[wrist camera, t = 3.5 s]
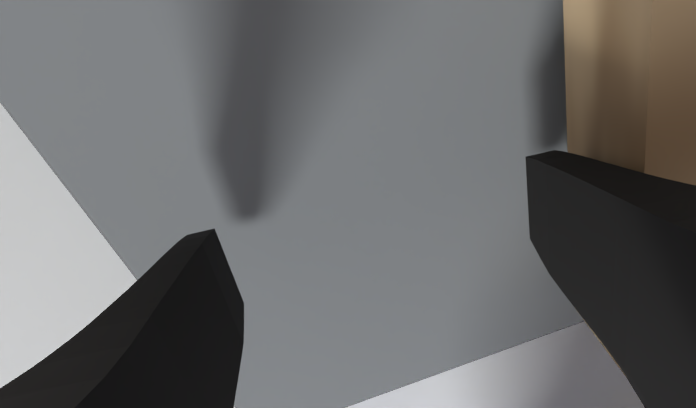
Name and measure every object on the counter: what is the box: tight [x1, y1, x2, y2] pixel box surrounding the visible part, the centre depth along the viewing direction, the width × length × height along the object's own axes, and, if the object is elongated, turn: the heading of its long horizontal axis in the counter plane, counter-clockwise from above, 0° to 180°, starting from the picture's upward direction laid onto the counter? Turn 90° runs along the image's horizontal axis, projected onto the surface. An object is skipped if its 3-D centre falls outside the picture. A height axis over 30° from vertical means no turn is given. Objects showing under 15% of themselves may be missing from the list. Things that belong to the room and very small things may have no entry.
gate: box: [563, 0, 696, 375], centre depth 10 cm, size 10×1×3 cm, turn 13°
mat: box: [0, 0, 584, 408], centre depth 11 cm, size 15×16×1 cm
